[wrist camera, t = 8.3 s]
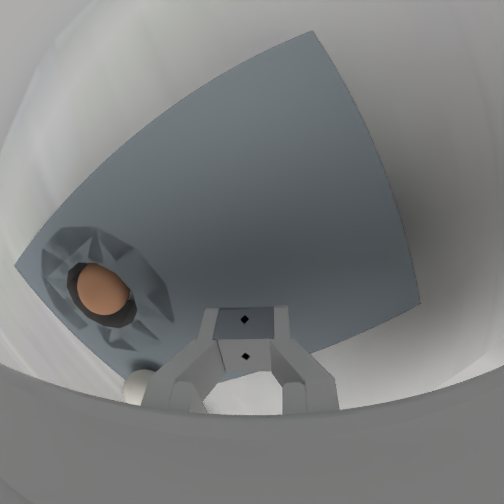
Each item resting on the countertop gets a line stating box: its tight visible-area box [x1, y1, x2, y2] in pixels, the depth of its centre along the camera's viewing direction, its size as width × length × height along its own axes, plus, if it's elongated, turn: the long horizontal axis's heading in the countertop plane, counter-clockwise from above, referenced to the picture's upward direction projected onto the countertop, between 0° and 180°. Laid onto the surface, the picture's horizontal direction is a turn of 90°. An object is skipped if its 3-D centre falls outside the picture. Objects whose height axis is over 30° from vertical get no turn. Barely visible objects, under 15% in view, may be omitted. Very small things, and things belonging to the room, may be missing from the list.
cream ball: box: [123, 369, 155, 406], centre depth 15 cm, size 3×3×3 cm
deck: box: [14, 31, 421, 383], centre depth 14 cm, size 20×14×2 cm
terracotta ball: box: [77, 263, 130, 315], centre depth 14 cm, size 3×3×3 cm
